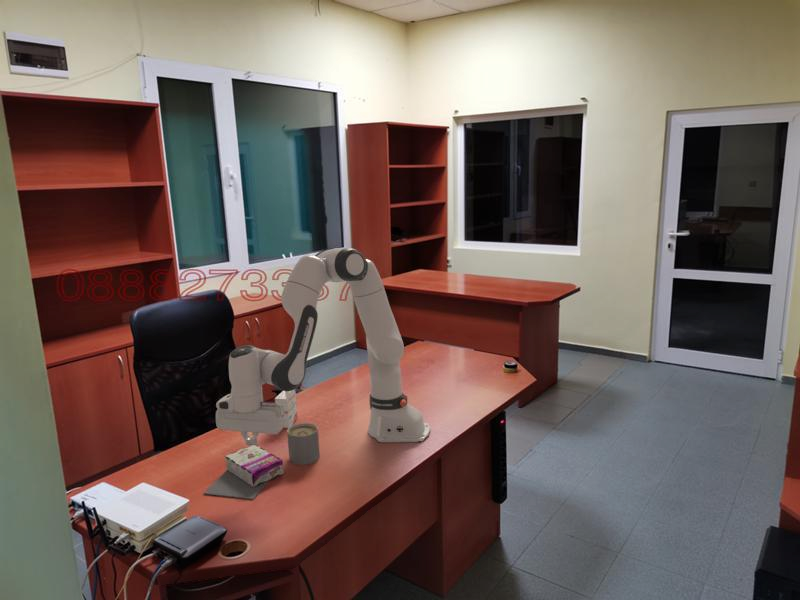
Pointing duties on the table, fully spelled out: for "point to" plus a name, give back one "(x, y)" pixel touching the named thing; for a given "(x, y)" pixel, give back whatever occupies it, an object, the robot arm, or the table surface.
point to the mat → (234, 487)
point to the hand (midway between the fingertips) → (251, 444)
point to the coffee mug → (303, 443)
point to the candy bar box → (254, 465)
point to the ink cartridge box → (287, 407)
